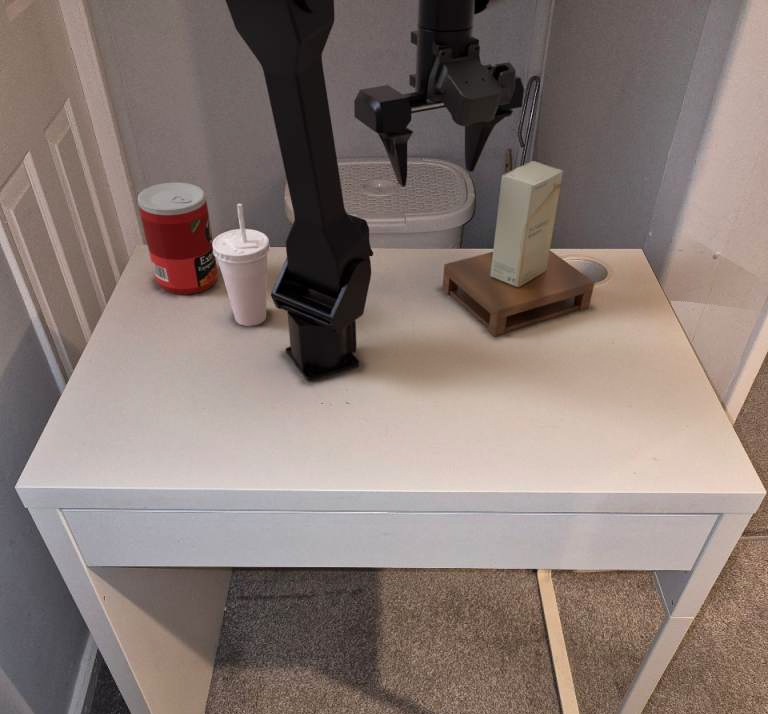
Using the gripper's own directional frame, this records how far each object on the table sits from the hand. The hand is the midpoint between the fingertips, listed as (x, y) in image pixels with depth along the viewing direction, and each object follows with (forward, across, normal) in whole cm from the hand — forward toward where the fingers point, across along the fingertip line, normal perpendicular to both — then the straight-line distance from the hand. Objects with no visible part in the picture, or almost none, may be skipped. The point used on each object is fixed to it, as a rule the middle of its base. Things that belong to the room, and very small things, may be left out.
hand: (436, 177), depth 89 cm
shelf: (+13, +7, -9) cm, 17 cm away
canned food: (+13, -28, +14) cm, 34 cm away
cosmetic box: (+10, +7, -9) cm, 15 cm away
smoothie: (+13, -24, +2) cm, 27 cm away
